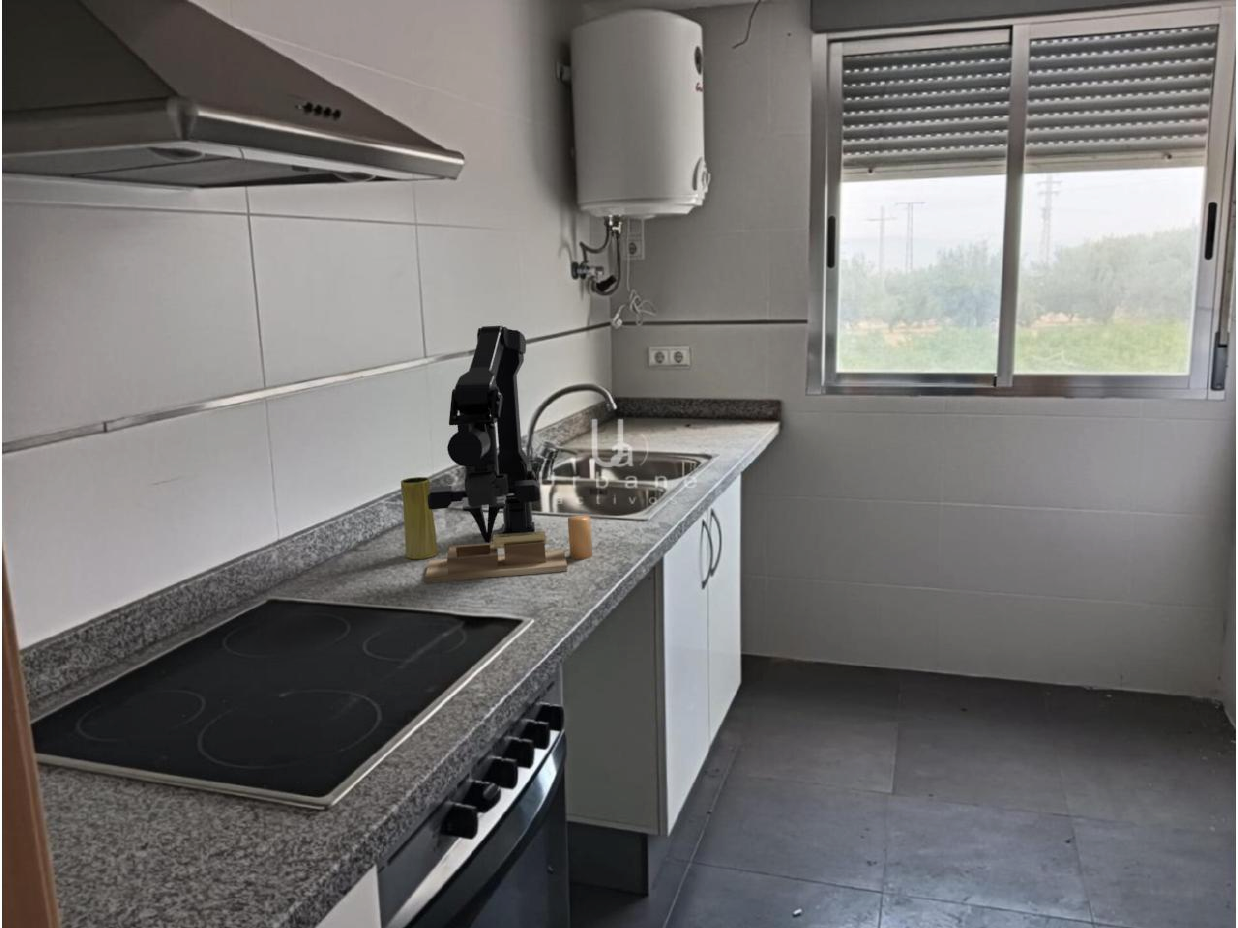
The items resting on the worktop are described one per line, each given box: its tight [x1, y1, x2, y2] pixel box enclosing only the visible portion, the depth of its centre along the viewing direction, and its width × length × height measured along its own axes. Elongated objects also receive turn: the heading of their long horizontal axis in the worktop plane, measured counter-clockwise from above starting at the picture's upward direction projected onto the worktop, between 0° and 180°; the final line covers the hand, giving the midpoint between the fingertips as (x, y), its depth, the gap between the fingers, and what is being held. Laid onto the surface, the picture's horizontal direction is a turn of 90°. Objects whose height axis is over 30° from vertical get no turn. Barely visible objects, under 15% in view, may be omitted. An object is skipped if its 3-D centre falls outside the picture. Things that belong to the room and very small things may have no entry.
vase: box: [400, 476, 440, 560], centre depth 183 cm, size 6×6×14 cm
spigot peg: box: [567, 514, 593, 560], centre depth 178 cm, size 4×4×7 cm
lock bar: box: [492, 530, 547, 550], centre depth 173 cm, size 2×9×2 cm, turn 96°
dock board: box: [424, 542, 568, 584], centre depth 173 cm, size 10×24×4 cm, turn 96°
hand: (487, 542), depth 172 cm, fingers closed
